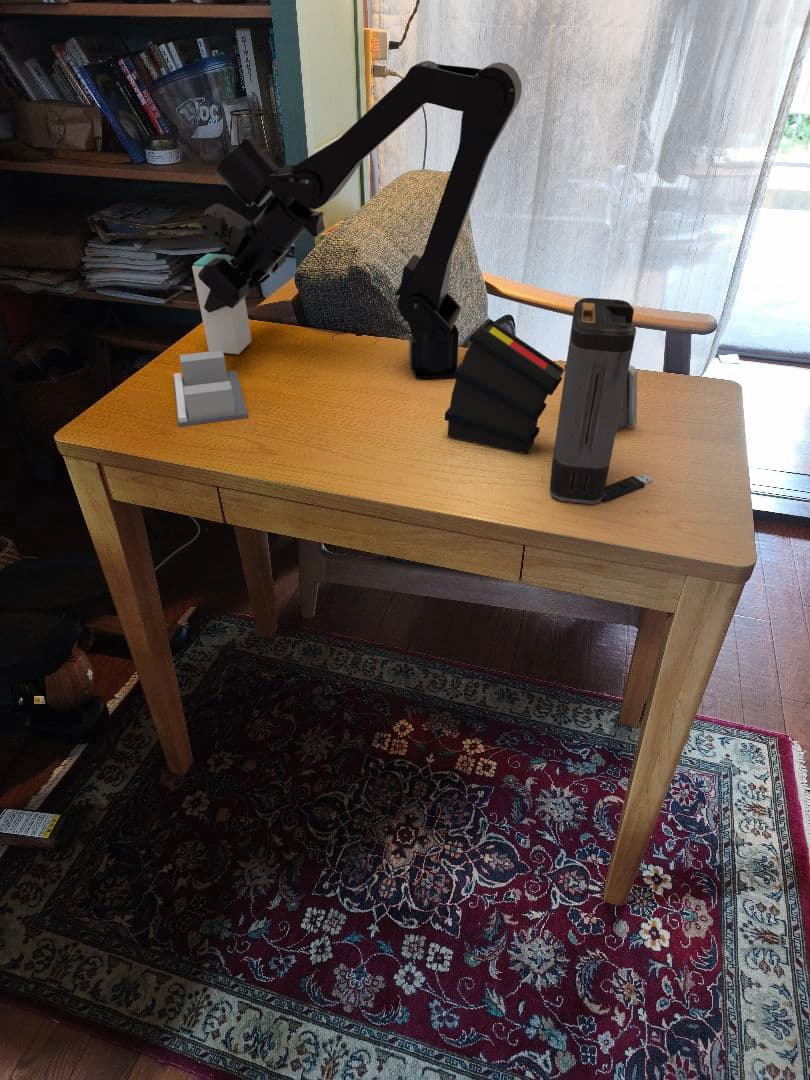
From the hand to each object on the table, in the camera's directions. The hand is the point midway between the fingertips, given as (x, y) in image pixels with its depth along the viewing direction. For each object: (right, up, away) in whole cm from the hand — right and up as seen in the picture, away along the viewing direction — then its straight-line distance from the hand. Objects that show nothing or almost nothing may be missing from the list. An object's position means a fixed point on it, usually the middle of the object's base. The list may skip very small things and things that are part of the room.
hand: (214, 303), depth 111 cm
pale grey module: (+1, -5, +4) cm, 7 cm away
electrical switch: (+54, -20, -14) cm, 60 cm away
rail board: (+2, -16, -9) cm, 19 cm away
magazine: (+41, -24, -19) cm, 51 cm away
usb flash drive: (+54, -30, -27) cm, 68 cm away
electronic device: (+49, -29, -26) cm, 63 cm away
